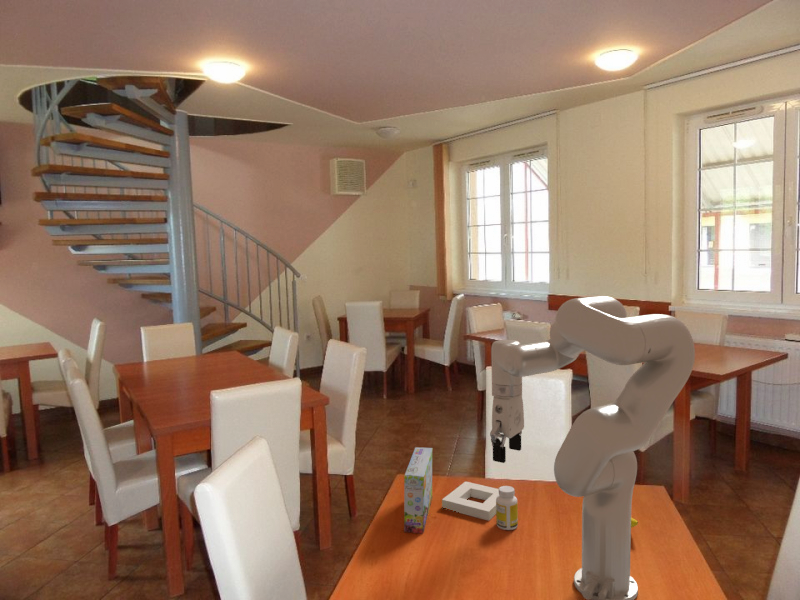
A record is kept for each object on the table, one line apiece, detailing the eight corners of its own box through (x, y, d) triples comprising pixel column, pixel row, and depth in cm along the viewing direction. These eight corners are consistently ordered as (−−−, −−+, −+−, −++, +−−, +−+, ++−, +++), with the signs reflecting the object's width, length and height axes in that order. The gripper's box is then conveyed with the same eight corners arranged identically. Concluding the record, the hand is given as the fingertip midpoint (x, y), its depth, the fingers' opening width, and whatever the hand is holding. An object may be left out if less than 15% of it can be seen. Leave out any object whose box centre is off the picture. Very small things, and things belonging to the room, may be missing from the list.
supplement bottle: (516, 520, 150) (516, 484, 149) (518, 531, 145) (518, 493, 144) (495, 520, 151) (495, 484, 150) (497, 530, 146) (496, 493, 145)
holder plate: (489, 520, 151) (488, 511, 151) (442, 508, 158) (442, 499, 158) (510, 500, 162) (510, 491, 162) (465, 489, 170) (465, 481, 170)
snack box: (425, 534, 145) (424, 476, 143) (403, 533, 146) (402, 475, 144) (433, 497, 166) (433, 446, 164) (414, 496, 166) (413, 445, 165)
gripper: (506, 399, 136) (507, 469, 137) (534, 383, 150) (534, 447, 152) (477, 395, 140) (478, 463, 142) (507, 380, 154) (507, 442, 156)
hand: (507, 455), depth 147 cm, fingers open, 9 cm apart
